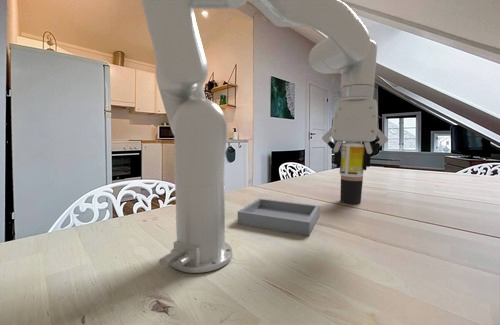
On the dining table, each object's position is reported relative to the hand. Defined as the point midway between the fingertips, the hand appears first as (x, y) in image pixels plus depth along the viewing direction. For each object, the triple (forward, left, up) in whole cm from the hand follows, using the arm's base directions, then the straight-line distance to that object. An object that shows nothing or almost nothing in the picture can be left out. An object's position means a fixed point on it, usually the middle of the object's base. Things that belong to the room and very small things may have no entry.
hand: (351, 167), depth 62 cm
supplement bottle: (0, 0, -2) cm, 2 cm away
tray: (+1, +19, -17) cm, 25 cm away
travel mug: (+32, +1, -17) cm, 36 cm away
